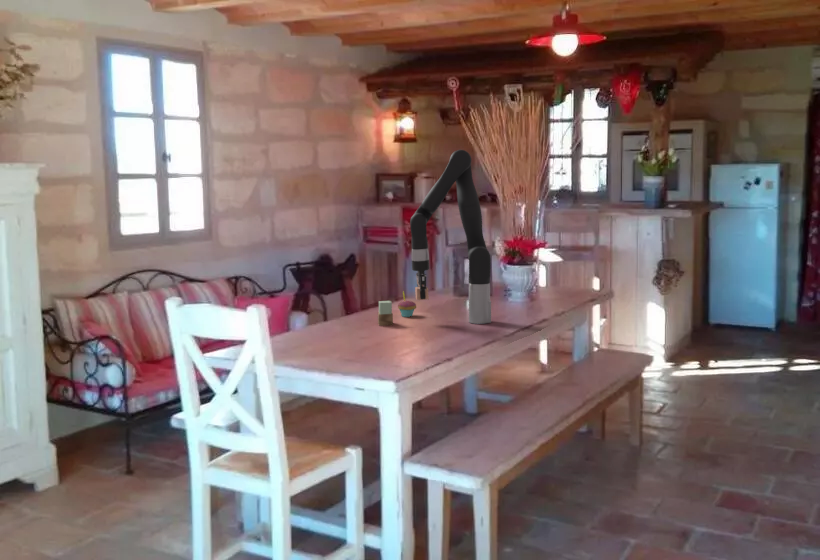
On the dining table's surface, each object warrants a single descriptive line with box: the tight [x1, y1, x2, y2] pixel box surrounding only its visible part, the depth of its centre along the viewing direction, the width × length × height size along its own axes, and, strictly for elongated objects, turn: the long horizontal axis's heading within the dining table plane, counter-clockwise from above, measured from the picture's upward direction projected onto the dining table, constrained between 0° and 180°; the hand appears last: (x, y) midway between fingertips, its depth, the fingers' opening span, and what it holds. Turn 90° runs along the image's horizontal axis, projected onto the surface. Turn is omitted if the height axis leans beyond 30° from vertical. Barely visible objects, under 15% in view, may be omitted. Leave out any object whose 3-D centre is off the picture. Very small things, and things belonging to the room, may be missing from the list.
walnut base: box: [377, 311, 394, 327], centre depth 375 cm, size 6×6×5 cm
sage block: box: [378, 300, 393, 314], centre depth 374 cm, size 5×5×5 cm
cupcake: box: [397, 291, 417, 318], centre depth 393 cm, size 9×8×12 cm
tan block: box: [414, 286, 429, 301], centre depth 375 cm, size 5×5×5 cm
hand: (422, 297), depth 376 cm, fingers closed on tan block, 5 cm apart
